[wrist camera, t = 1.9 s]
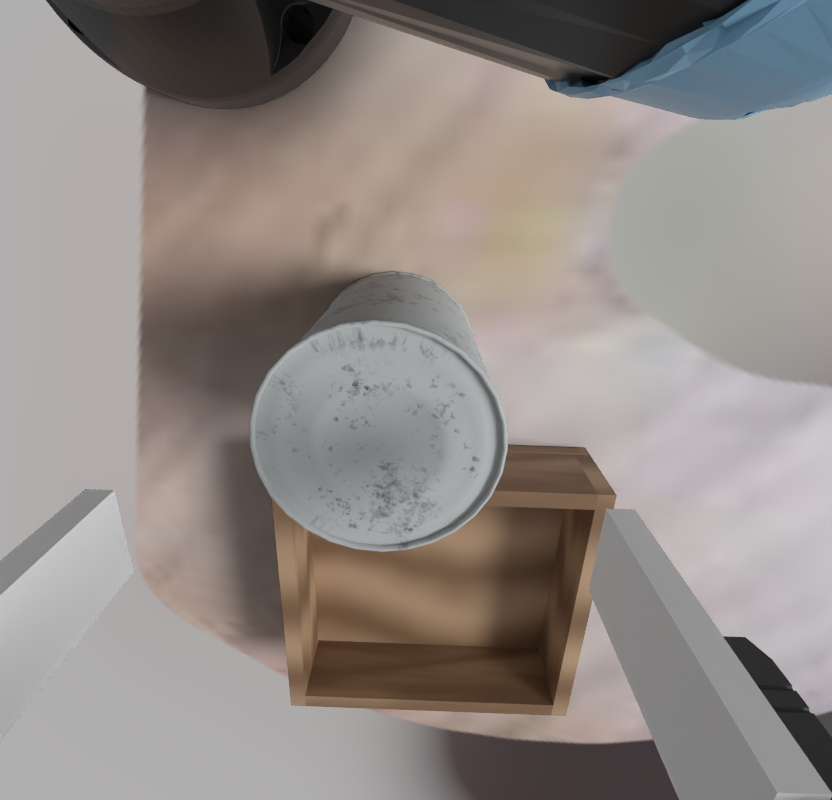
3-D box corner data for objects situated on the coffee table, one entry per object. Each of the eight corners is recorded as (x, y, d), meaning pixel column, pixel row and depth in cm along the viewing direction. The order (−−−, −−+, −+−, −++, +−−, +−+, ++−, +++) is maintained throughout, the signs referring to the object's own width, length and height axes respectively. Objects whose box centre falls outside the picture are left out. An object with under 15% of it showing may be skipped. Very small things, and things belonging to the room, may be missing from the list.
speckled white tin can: (294, 385, 30) (215, 498, 19) (354, 241, 27) (302, 270, 15) (431, 445, 31) (435, 583, 20) (503, 316, 28) (558, 393, 17)
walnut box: (295, 436, 31) (270, 482, 26) (584, 447, 31) (616, 495, 26) (308, 638, 38) (291, 705, 33) (546, 647, 38) (565, 715, 33)
